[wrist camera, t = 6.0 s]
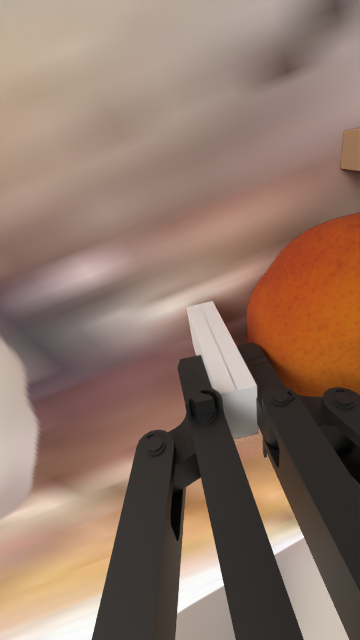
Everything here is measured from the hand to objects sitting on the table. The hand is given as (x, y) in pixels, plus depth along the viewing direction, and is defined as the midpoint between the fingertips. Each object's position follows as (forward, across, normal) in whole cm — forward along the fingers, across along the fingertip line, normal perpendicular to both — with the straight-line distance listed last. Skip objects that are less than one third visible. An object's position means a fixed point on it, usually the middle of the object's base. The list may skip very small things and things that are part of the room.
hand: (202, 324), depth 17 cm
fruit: (+2, +7, 0) cm, 7 cm away
